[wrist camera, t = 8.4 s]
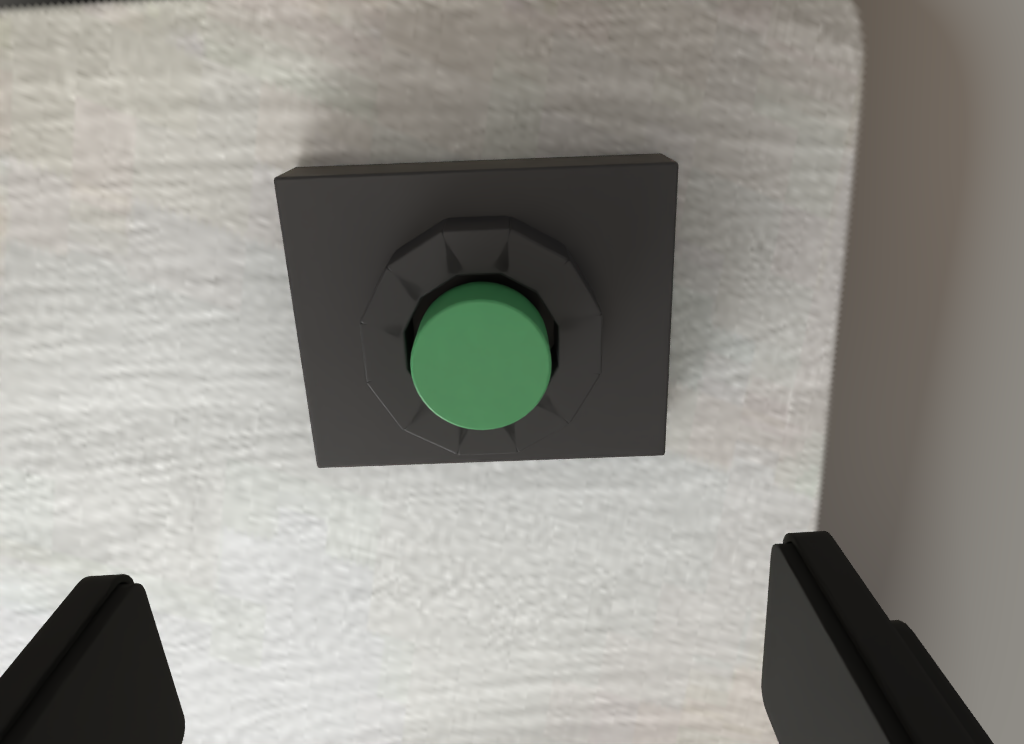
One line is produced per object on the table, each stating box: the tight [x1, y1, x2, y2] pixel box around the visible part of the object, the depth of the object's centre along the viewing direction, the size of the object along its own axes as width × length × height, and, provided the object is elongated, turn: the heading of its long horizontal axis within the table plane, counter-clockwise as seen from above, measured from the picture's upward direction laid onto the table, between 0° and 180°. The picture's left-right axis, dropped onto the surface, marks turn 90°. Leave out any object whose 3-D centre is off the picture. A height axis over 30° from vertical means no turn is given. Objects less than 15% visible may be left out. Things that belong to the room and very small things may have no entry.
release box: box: [274, 154, 678, 468], centre depth 22 cm, size 11×9×4 cm
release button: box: [410, 281, 552, 430], centre depth 20 cm, size 4×4×2 cm
